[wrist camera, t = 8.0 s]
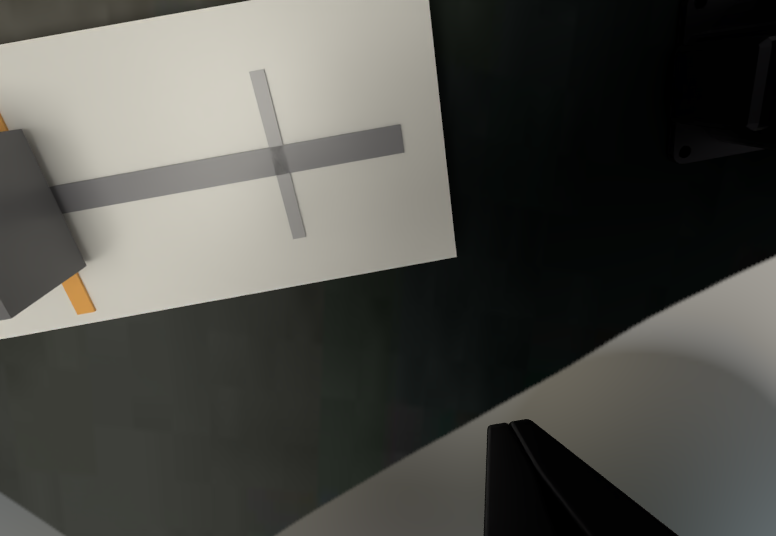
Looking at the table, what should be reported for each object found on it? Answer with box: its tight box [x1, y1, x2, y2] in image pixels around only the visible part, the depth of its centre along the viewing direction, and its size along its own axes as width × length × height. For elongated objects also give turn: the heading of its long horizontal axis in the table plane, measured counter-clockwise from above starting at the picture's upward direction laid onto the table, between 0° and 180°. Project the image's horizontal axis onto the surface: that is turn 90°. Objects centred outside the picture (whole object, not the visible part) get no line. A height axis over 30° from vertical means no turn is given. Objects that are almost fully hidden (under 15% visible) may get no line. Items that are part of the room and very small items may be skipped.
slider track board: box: [0, 0, 457, 339], centre depth 17 cm, size 20×10×2 cm, turn 99°
